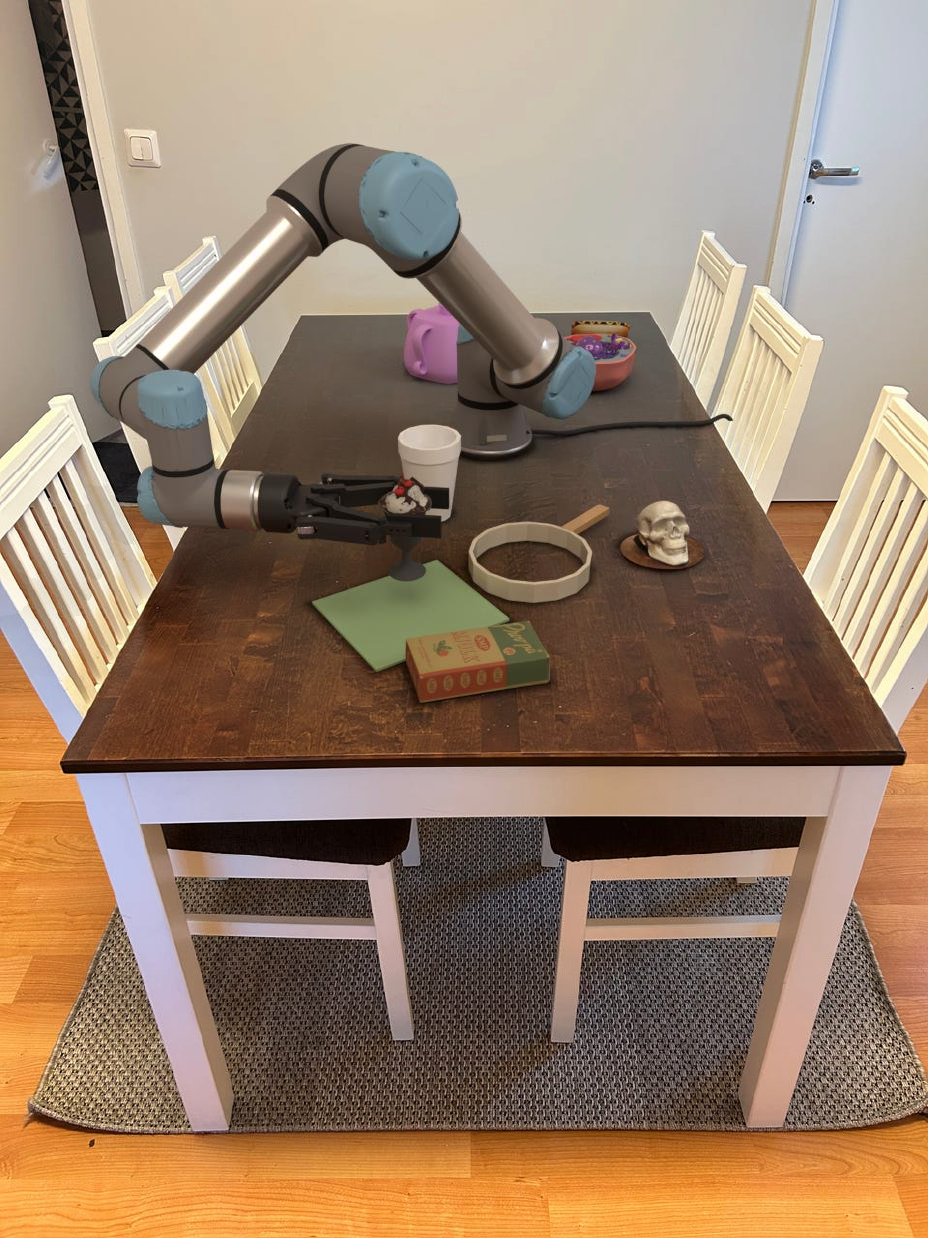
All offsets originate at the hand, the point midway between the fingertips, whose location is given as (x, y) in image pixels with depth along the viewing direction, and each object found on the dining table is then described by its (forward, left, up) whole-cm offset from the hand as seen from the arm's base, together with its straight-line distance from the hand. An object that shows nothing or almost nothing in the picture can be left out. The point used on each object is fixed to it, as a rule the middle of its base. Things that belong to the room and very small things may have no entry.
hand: (444, 512), depth 115 cm
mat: (+4, -3, -15) cm, 16 cm away
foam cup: (-13, -25, -16) cm, 32 cm away
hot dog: (-89, -74, -16) cm, 117 cm away
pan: (-21, -3, -15) cm, 26 cm away
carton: (+4, +13, -16) cm, 20 cm away
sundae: (+4, -3, -9) cm, 10 cm away
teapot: (-51, -77, -16) cm, 94 cm away
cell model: (-70, -54, -16) cm, 90 cm away
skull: (-35, +4, -16) cm, 39 cm away
